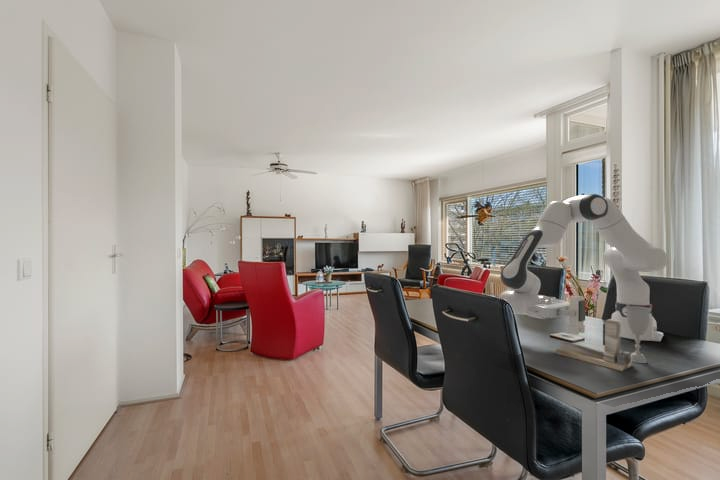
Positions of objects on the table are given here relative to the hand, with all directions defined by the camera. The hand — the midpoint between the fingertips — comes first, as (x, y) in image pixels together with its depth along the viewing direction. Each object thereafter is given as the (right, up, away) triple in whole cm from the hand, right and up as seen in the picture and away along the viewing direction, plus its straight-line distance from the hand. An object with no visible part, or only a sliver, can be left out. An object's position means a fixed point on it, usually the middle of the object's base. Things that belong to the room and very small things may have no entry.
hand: (579, 313), depth 123 cm
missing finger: (-1, -7, +1) cm, 7 cm away
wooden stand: (+2, -15, -3) cm, 16 cm away
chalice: (+17, -15, -4) cm, 24 cm away
